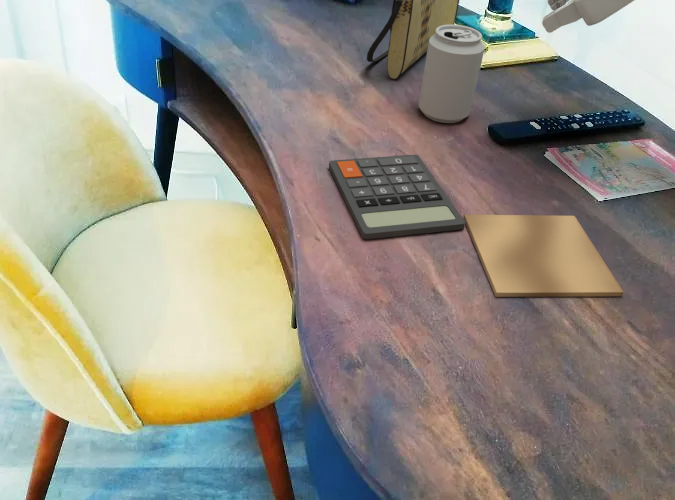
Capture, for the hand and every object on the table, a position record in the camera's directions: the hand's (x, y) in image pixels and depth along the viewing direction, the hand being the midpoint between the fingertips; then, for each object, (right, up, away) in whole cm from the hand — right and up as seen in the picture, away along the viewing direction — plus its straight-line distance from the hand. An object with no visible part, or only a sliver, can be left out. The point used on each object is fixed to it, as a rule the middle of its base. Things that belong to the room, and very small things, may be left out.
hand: (547, 15), depth 81 cm
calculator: (-20, -23, -6) cm, 31 cm away
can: (-11, -10, +12) cm, 19 cm away
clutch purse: (-14, +4, +30) cm, 33 cm away
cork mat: (-5, -30, -13) cm, 33 cm away
